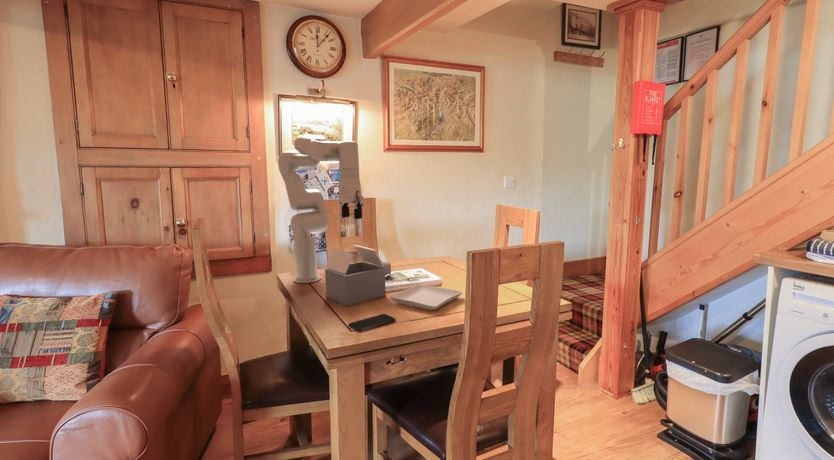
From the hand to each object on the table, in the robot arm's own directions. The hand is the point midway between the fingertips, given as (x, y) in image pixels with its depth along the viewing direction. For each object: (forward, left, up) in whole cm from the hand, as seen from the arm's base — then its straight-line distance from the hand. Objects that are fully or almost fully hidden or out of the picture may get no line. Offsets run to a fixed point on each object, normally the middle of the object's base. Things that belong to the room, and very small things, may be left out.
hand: (351, 217), depth 174 cm
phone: (+29, -12, -33) cm, 46 cm away
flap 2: (0, +7, -16) cm, 18 cm away
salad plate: (+24, +17, -33) cm, 44 cm away
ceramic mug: (-19, +26, -33) cm, 46 cm away
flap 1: (0, -7, -16) cm, 18 cm away
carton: (0, 0, -32) cm, 32 cm away
